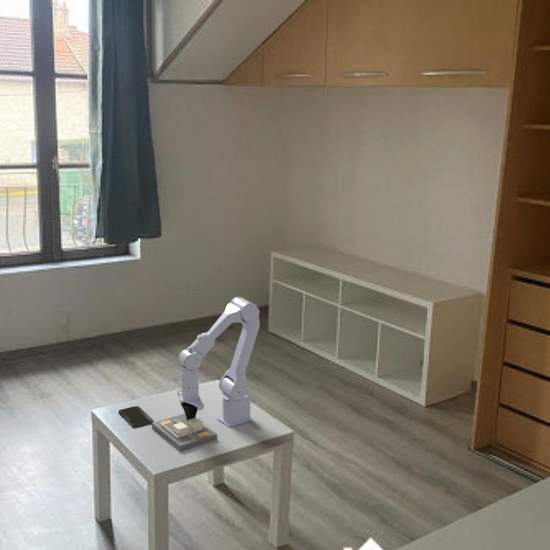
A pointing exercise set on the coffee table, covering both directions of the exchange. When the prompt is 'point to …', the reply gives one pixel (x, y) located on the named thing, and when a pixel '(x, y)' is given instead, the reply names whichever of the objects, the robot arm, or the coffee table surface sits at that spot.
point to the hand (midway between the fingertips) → (190, 421)
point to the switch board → (186, 441)
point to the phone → (135, 416)
